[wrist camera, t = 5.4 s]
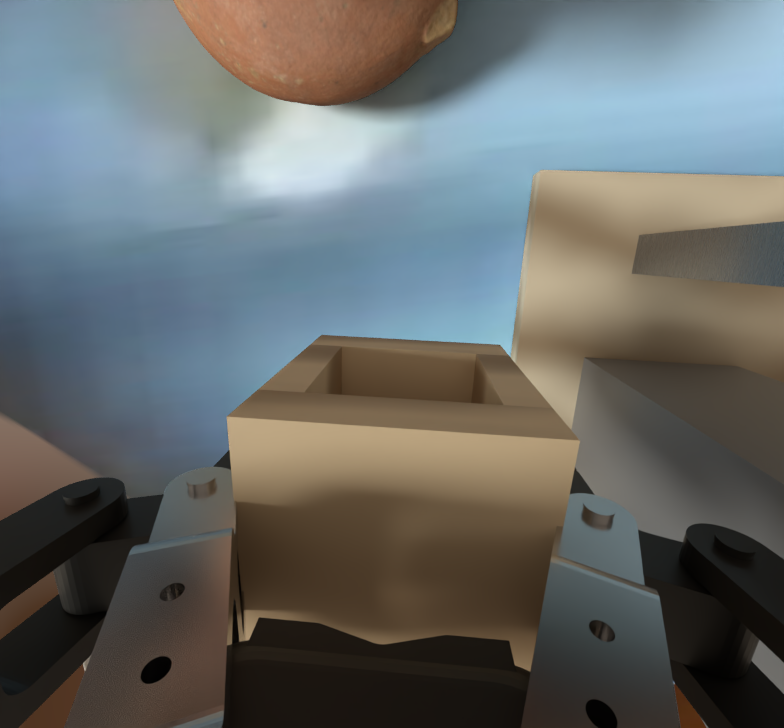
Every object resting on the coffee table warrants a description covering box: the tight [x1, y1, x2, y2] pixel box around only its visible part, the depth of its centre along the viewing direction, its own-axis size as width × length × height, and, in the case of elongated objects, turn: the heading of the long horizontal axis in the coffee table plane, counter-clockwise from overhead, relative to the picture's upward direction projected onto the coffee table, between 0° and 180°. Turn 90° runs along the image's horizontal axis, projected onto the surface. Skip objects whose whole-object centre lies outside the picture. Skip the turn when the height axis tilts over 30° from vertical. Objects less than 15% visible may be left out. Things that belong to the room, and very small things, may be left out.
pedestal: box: [571, 357, 784, 728], centre depth 16 cm, size 8×8×17 cm
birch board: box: [511, 170, 784, 429], centre depth 23 cm, size 20×18×2 cm
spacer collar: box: [227, 335, 580, 671], centre depth 10 cm, size 6×6×6 cm
